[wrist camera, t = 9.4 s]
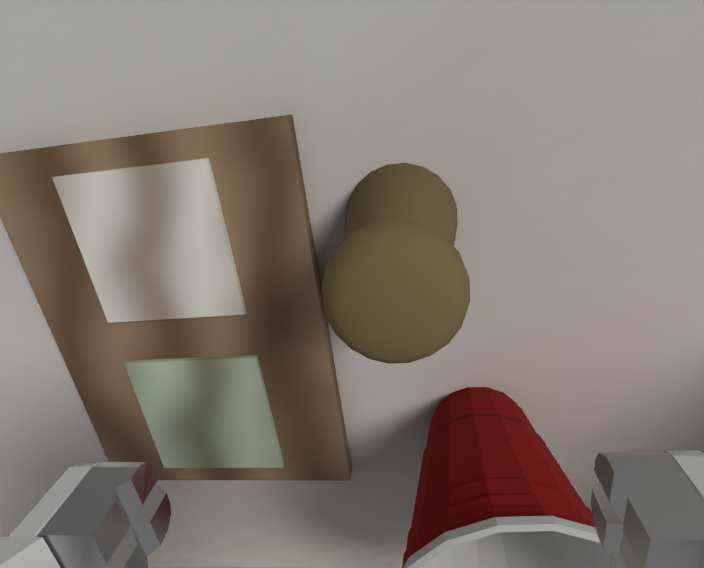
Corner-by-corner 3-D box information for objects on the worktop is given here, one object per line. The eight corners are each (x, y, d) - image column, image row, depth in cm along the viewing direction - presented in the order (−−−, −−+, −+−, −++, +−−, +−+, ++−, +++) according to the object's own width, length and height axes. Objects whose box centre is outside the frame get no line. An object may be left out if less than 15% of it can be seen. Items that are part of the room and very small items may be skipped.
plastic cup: (541, 496, 31) (611, 717, 20) (386, 469, 32) (373, 669, 21) (592, 366, 27) (717, 562, 16) (410, 338, 27) (409, 508, 17)
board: (291, 114, 23) (285, 116, 22) (352, 469, 32) (349, 483, 31) (-11, 155, 26) (-31, 158, 25) (125, 469, 35) (115, 482, 34)
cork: (344, 267, 26) (301, 382, 16) (347, 159, 24) (299, 217, 14) (450, 275, 25) (475, 399, 15) (464, 166, 23) (505, 230, 13)
